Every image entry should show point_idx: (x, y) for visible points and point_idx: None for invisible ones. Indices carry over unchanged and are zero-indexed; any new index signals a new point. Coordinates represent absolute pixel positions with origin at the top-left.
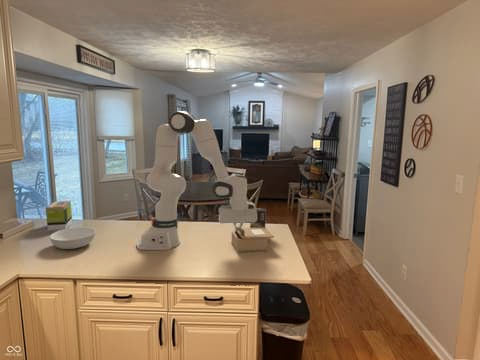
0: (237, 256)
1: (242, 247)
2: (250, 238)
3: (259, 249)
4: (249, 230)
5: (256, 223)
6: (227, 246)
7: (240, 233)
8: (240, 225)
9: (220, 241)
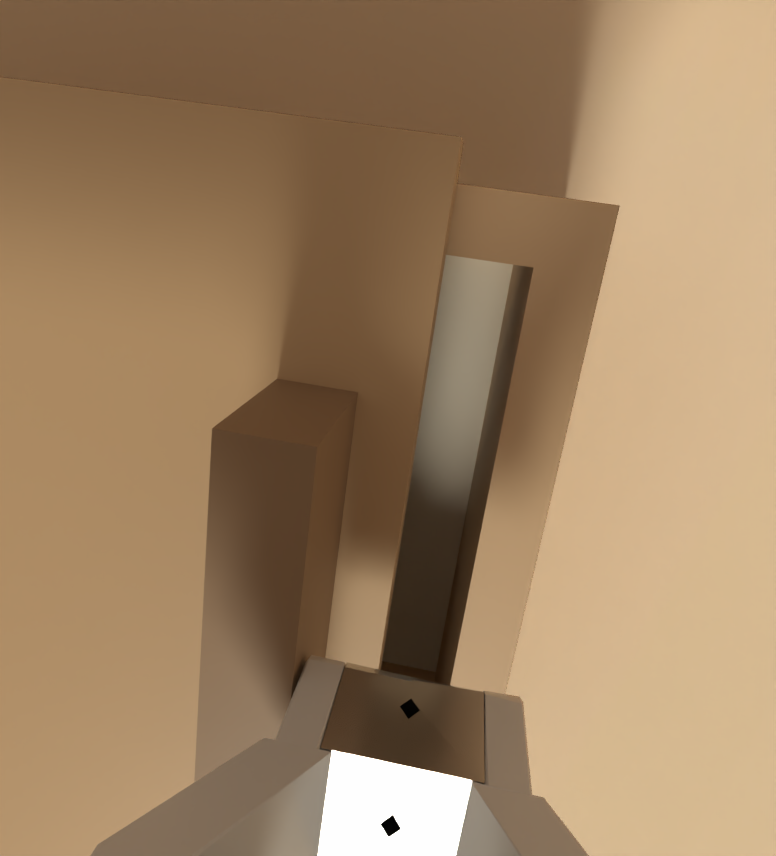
0: (641, 18)
1: None
2: (150, 104)
3: None
4: (5, 713)
5: None
6: (598, 582)
7: (342, 590)
8: (256, 848)
9: (615, 812)
